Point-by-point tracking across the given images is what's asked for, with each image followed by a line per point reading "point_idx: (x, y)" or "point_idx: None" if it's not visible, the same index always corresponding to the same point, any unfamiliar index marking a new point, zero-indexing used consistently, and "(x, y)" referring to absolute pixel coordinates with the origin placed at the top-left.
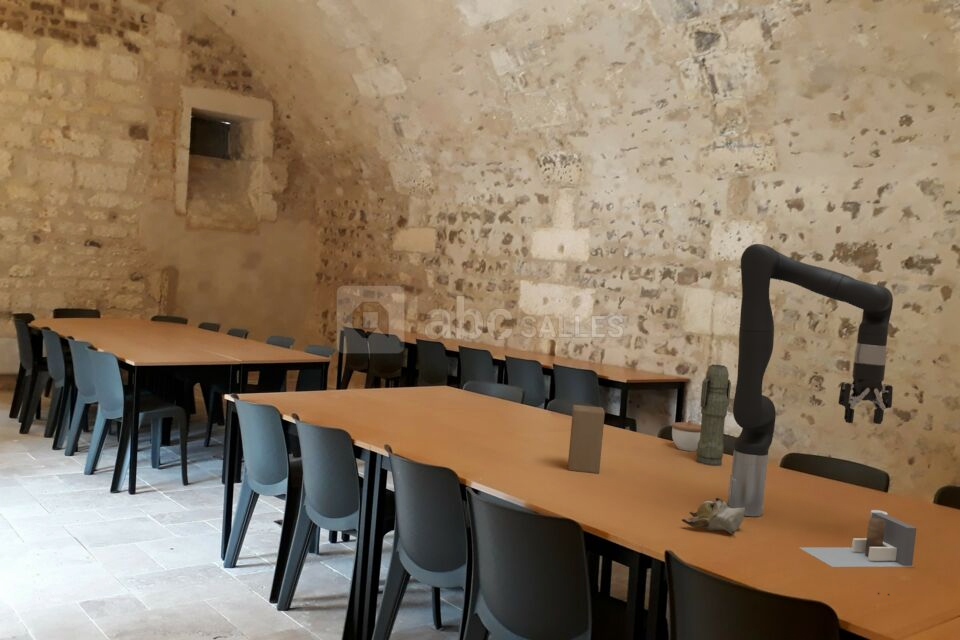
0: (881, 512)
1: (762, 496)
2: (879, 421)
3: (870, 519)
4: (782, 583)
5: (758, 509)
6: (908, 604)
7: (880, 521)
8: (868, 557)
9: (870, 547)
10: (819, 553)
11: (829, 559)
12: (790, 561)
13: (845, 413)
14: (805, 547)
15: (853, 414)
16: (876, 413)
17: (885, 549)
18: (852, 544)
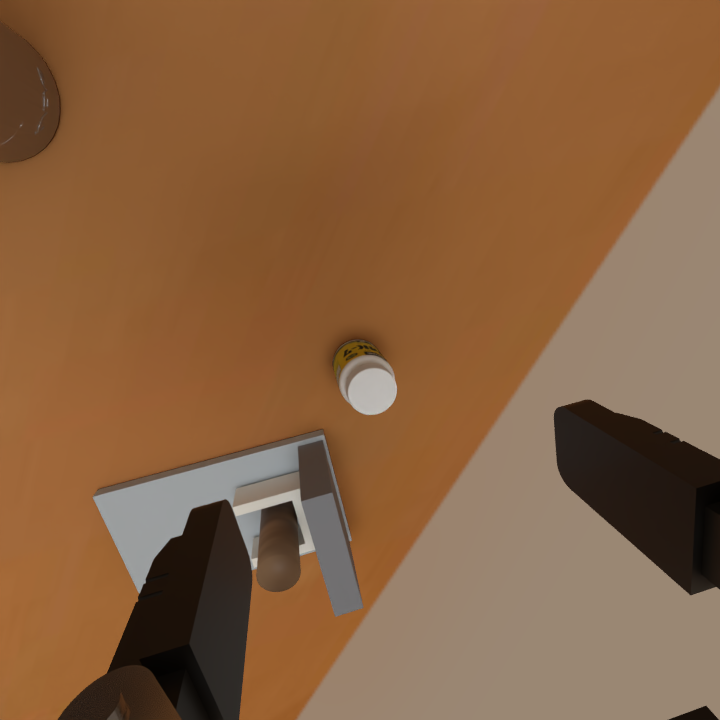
0: (378, 393)
1: (2, 125)
2: (580, 495)
3: (257, 578)
4: (7, 685)
5: (20, 149)
6: (244, 696)
7: (280, 589)
8: (253, 541)
9: (252, 561)
10: (140, 525)
11: (153, 558)
12: (59, 557)
13: (139, 624)
14: (113, 490)
15: (239, 663)
16: (641, 493)
17: None
18: (234, 498)
